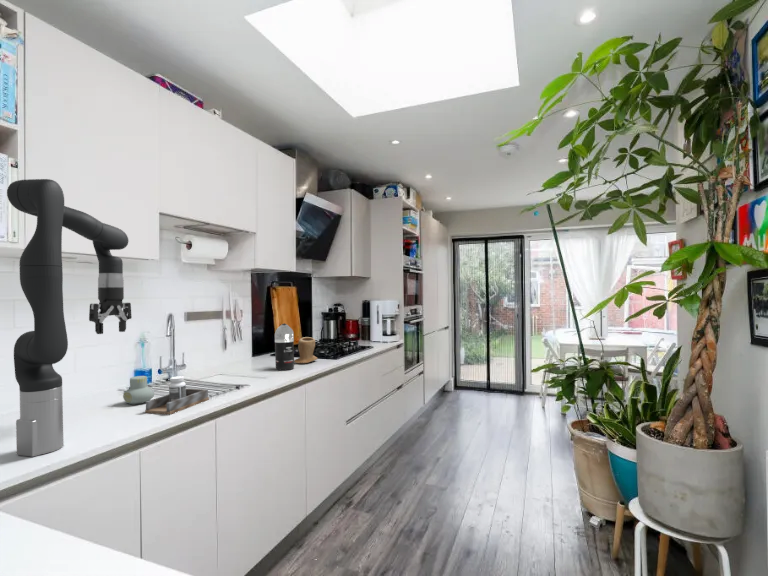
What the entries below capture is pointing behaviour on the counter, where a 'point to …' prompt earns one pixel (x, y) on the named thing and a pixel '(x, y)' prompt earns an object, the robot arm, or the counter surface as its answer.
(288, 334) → the black labeled bottle
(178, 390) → the pill bottle
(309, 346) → the stone cup
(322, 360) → the counter surface
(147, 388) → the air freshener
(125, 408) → the counter surface
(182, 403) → the grey tray
